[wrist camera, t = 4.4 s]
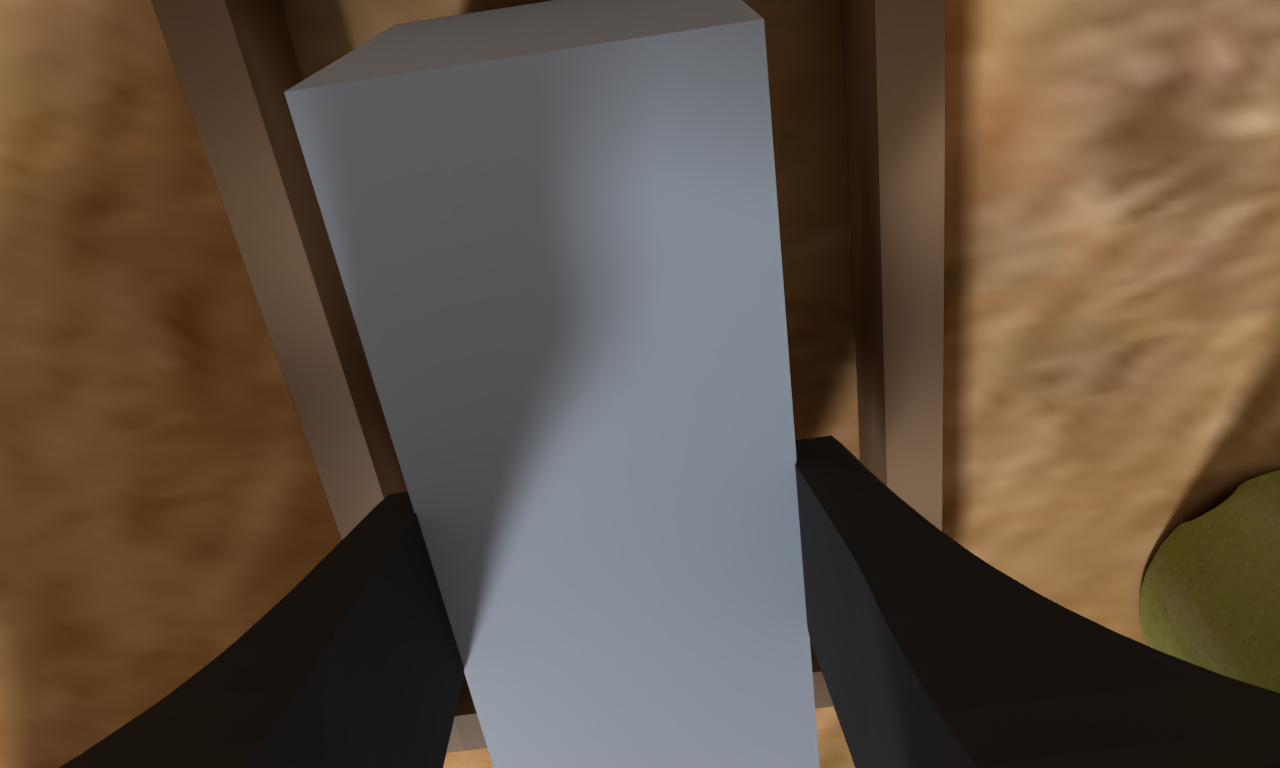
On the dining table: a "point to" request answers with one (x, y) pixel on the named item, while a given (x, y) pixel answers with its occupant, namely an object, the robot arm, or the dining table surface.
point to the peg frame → (325, 326)
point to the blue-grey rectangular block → (584, 366)
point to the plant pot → (1221, 588)
